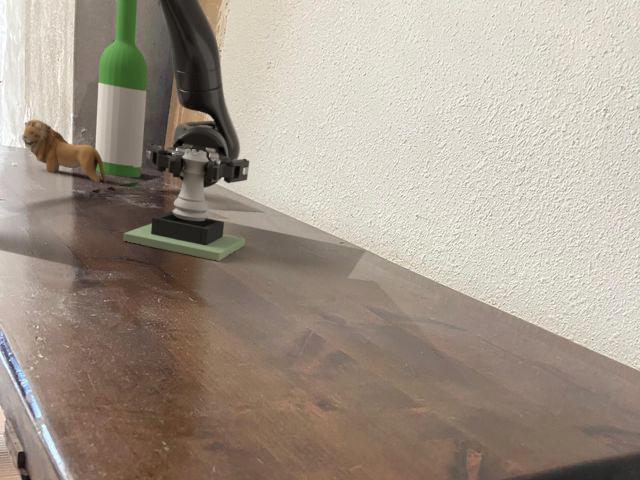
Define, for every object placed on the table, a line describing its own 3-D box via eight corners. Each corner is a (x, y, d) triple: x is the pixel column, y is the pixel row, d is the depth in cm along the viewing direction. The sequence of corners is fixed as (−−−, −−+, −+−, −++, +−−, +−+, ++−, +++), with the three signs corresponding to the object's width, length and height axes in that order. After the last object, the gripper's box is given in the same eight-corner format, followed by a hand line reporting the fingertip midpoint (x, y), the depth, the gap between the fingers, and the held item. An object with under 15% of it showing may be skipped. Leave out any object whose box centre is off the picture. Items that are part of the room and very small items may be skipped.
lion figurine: (16, 179, 116) (16, 117, 112) (29, 176, 120) (30, 116, 117) (110, 196, 116) (113, 135, 112) (120, 192, 121) (123, 134, 117)
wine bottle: (86, 176, 130) (94, -20, 118) (128, 180, 135) (140, -8, 122) (104, 185, 125) (115, -19, 112) (147, 189, 129) (162, -7, 117)
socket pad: (123, 241, 90) (124, 216, 89) (159, 227, 101) (160, 205, 99) (218, 261, 89) (221, 236, 88) (244, 245, 100) (247, 223, 98)
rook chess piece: (207, 216, 96) (213, 151, 93) (208, 223, 92) (215, 156, 89) (172, 211, 95) (177, 145, 92) (171, 218, 91) (177, 149, 88)
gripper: (151, 117, 101) (134, 127, 86) (254, 136, 103) (256, 148, 88) (147, 175, 104) (130, 193, 89) (247, 191, 107) (248, 212, 91)
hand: (193, 171), depth 89 cm, fingers closed on rook chess piece, 3 cm apart
